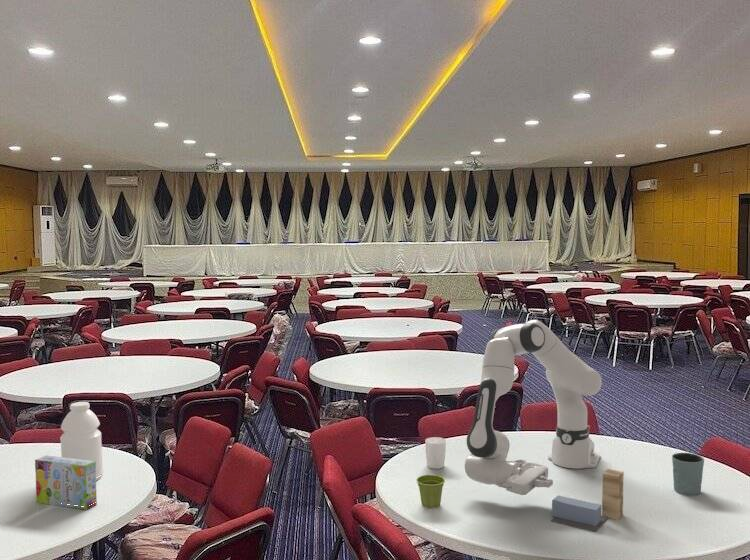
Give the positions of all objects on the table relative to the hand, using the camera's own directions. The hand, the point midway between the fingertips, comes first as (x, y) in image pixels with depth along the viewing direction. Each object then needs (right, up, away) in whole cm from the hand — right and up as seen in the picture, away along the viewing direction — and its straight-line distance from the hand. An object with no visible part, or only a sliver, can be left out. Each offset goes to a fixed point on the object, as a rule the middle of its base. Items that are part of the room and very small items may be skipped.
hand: (551, 483), depth 230 cm
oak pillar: (+19, -10, -1) cm, 21 cm away
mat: (+8, -10, -5) cm, 13 cm away
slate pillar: (+1, -7, 0) cm, 7 cm away
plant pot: (-38, -9, +8) cm, 40 cm away
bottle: (-164, -8, +35) cm, 168 cm away
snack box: (-160, -10, +12) cm, 161 cm away
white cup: (-33, -6, +46) cm, 57 cm away
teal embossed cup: (+51, -8, +18) cm, 55 cm away
